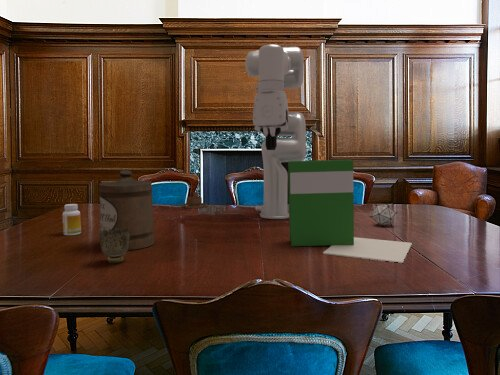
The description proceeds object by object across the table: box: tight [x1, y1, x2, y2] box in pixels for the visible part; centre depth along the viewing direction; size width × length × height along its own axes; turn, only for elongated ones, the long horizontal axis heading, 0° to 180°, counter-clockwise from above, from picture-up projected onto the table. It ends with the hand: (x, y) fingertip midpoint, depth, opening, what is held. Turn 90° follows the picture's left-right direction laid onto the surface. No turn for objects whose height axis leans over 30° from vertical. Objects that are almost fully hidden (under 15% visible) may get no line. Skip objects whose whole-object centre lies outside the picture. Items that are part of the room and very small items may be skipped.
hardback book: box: [287, 159, 355, 247], centre depth 119 cm, size 18×7×24 cm, turn 89°
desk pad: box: [322, 236, 413, 264], centre depth 114 cm, size 20×22×1 cm
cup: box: [98, 228, 130, 264], centre depth 102 cm, size 8×7×8 cm
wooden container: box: [98, 168, 155, 251], centre depth 119 cm, size 15×15×22 cm
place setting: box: [181, 191, 213, 209], centre depth 198 cm, size 18×20×6 cm
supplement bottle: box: [62, 203, 82, 236], centre depth 134 cm, size 5×5×10 cm
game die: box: [369, 202, 399, 227], centre depth 147 cm, size 9×8×10 cm
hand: (271, 149), depth 124 cm, fingers closed
